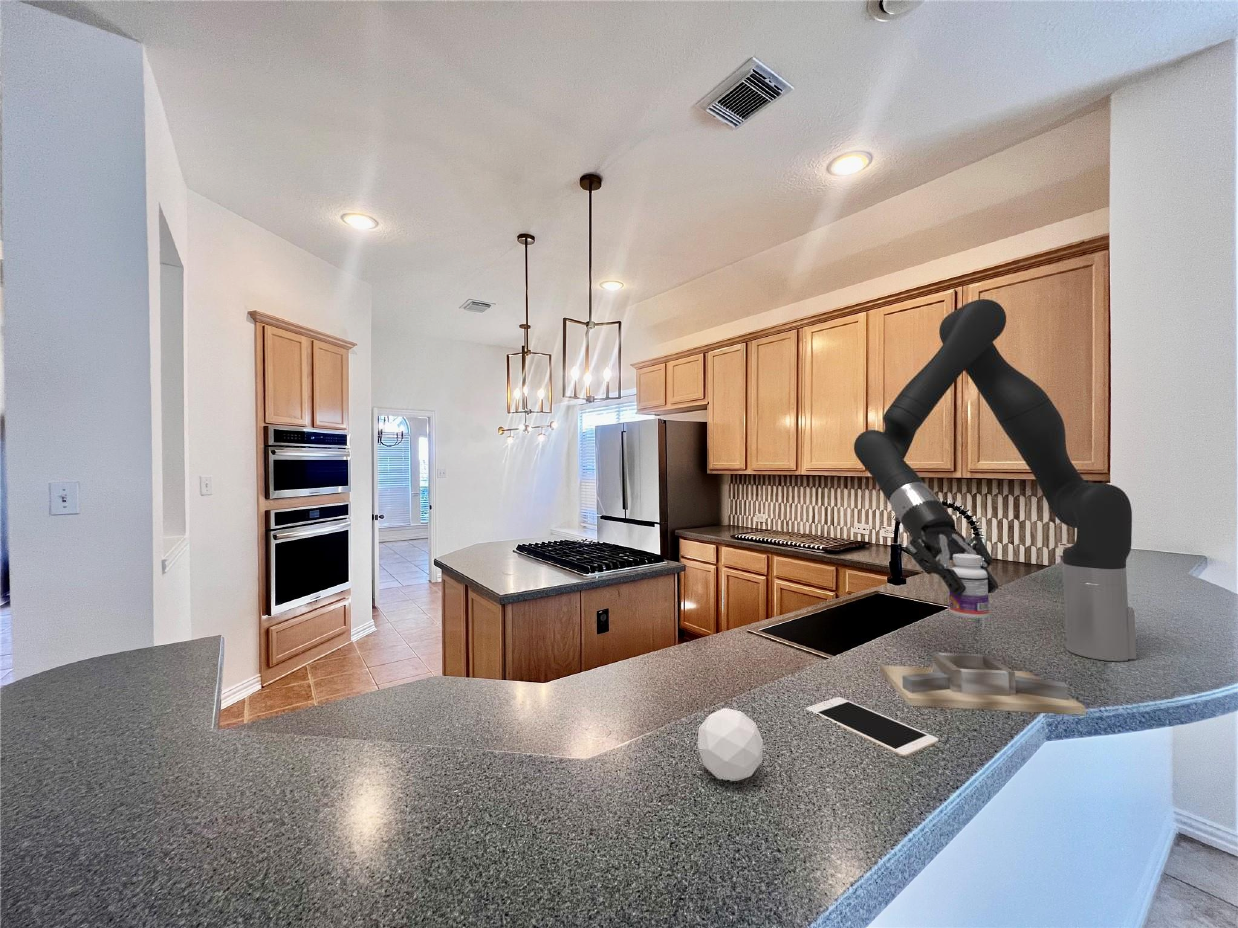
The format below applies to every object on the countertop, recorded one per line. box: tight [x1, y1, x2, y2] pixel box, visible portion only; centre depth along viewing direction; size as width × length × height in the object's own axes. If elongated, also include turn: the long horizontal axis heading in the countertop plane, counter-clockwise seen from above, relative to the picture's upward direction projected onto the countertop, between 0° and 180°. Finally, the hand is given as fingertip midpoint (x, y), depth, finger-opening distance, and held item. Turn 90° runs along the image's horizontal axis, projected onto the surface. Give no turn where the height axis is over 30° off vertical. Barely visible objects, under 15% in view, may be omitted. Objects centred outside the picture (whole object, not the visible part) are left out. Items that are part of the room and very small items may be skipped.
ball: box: [697, 707, 764, 782], centre depth 63 cm, size 8×8×8 cm
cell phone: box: [805, 696, 939, 757], centre depth 76 cm, size 8×16×1 cm, turn 29°
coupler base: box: [879, 652, 1087, 716], centre depth 86 cm, size 24×14×5 cm, turn 80°
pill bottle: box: [948, 553, 990, 619], centre depth 87 cm, size 5×5×10 cm
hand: (977, 591), depth 85 cm, fingers closed on pill bottle, 5 cm apart
